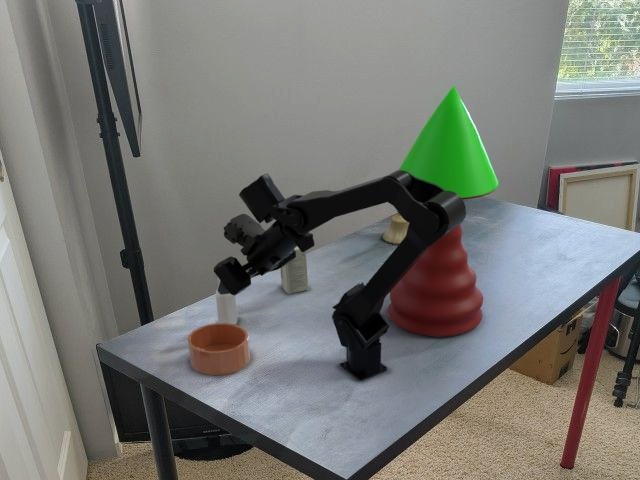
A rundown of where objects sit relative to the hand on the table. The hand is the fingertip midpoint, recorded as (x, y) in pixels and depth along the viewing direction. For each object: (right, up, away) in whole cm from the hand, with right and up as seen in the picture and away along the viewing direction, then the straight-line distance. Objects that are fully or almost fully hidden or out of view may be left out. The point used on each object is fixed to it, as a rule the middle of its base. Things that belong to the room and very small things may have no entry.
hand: (234, 283), depth 142 cm
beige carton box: (+10, +2, +21) cm, 23 cm away
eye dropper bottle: (-2, -7, +7) cm, 10 cm away
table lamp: (+40, -5, +11) cm, 42 cm away
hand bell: (+35, +20, +45) cm, 60 cm away
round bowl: (-2, -15, -5) cm, 16 cm away
